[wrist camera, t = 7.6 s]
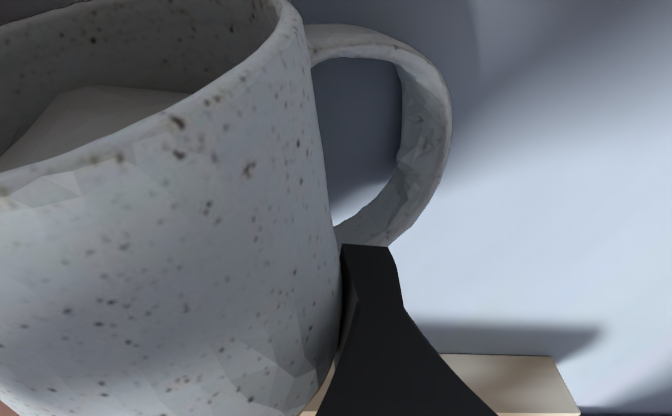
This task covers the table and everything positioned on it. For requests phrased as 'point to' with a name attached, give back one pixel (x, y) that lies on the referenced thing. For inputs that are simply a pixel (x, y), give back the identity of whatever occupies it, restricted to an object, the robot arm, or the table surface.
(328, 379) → the rails
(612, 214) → the table surface
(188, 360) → the ceramic mug
